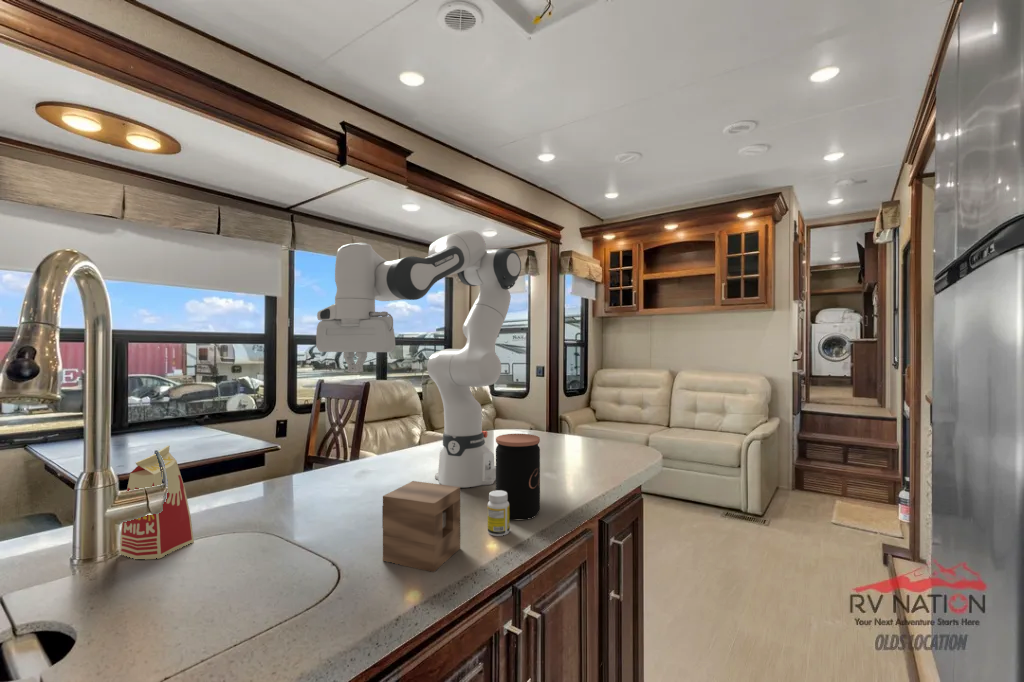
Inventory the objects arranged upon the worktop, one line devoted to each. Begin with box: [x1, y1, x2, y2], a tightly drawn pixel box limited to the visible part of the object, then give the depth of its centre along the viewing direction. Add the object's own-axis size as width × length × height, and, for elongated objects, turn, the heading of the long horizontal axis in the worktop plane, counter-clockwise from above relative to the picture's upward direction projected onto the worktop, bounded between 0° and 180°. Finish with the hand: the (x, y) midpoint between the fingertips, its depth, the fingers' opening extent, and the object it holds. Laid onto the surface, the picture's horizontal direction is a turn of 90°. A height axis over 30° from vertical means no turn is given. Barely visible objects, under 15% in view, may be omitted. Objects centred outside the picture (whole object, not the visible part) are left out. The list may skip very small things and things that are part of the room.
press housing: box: [382, 480, 461, 573], centre depth 88 cm, size 10×11×12 cm
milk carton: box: [119, 445, 195, 560], centre depth 91 cm, size 9×9×20 cm
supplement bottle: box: [486, 489, 511, 537], centre depth 99 cm, size 5×5×8 cm
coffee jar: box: [495, 433, 541, 520], centre depth 110 cm, size 11×11×18 cm
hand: (355, 371), depth 106 cm, fingers closed
